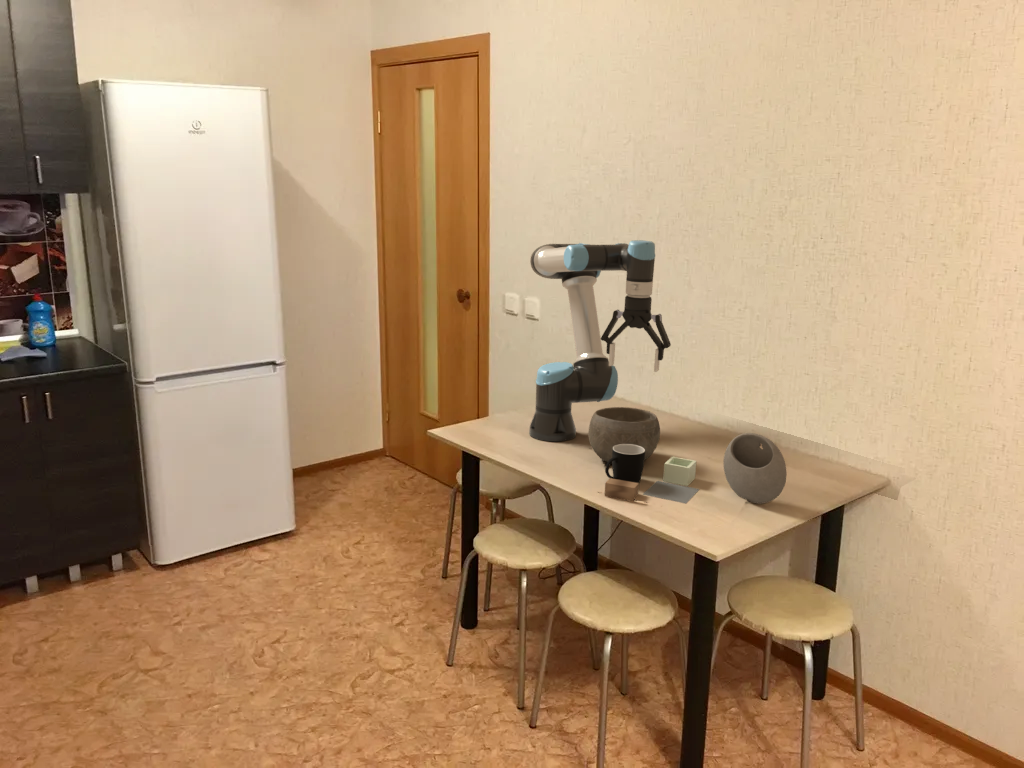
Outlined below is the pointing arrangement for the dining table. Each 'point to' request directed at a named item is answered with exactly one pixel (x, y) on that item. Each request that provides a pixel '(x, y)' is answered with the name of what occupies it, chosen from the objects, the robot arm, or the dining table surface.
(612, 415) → the bowl
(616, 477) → the mug
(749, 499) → the planter
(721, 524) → the dining table surface
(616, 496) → the walnut block
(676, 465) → the tub
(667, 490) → the coaster mat
